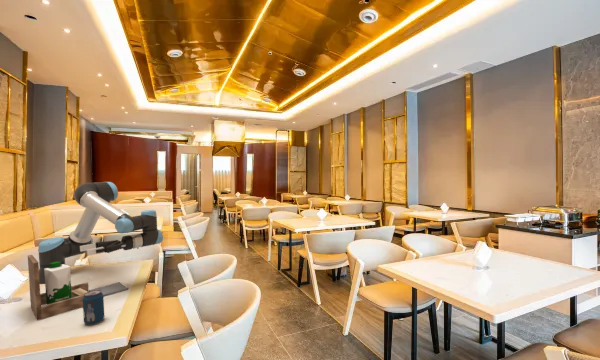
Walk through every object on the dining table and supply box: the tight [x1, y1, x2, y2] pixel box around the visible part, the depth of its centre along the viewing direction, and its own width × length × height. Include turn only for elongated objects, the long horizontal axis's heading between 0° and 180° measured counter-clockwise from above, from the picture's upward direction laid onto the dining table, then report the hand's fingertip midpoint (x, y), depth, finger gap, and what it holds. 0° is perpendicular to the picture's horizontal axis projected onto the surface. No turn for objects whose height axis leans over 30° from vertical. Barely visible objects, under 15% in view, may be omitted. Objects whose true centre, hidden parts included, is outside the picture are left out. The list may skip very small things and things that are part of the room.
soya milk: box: [44, 261, 72, 305], centre depth 138 cm, size 9×9×20 cm
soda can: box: [82, 290, 105, 326], centre depth 122 cm, size 7×7×12 cm
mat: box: [88, 282, 129, 298], centre depth 156 cm, size 14×14×1 cm
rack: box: [27, 254, 90, 321], centre depth 140 cm, size 22×20×24 cm
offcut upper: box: [72, 288, 87, 297], centre depth 144 cm, size 4×11×2 cm, turn 56°
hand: (83, 250), depth 145 cm, fingers open, 13 cm apart
